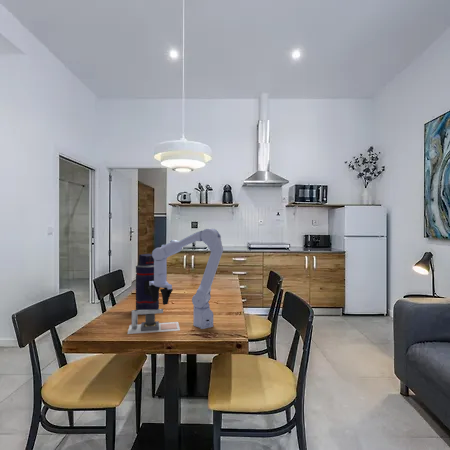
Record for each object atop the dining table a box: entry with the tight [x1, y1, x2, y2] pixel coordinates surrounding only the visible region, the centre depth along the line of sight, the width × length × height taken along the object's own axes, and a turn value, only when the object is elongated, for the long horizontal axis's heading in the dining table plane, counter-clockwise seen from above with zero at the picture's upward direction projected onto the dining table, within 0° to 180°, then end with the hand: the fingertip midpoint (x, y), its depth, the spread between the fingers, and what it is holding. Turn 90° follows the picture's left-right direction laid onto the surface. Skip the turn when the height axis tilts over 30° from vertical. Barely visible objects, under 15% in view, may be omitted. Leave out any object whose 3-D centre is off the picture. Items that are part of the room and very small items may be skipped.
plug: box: [144, 314, 156, 326], centre depth 138 cm, size 4×4×6 cm
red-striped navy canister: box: [135, 253, 160, 310], centre depth 168 cm, size 14×12×30 cm
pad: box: [161, 323, 177, 330], centre depth 139 cm, size 7×7×1 cm
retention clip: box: [131, 308, 164, 329], centre depth 137 cm, size 13×2×8 cm, turn 103°
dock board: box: [127, 320, 181, 335], centre depth 138 cm, size 22×12×2 cm, turn 103°
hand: (160, 302), depth 147 cm, fingers open, 7 cm apart
